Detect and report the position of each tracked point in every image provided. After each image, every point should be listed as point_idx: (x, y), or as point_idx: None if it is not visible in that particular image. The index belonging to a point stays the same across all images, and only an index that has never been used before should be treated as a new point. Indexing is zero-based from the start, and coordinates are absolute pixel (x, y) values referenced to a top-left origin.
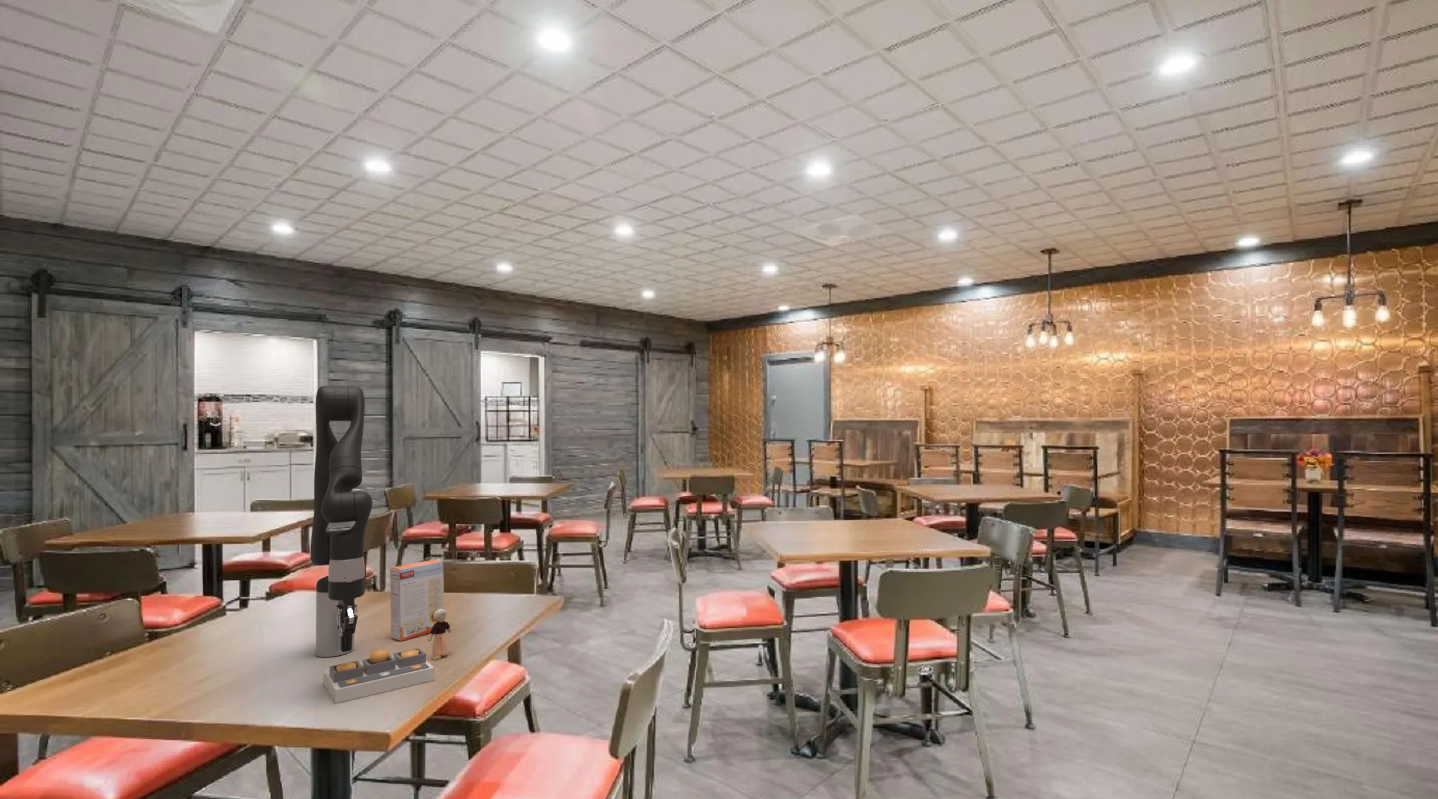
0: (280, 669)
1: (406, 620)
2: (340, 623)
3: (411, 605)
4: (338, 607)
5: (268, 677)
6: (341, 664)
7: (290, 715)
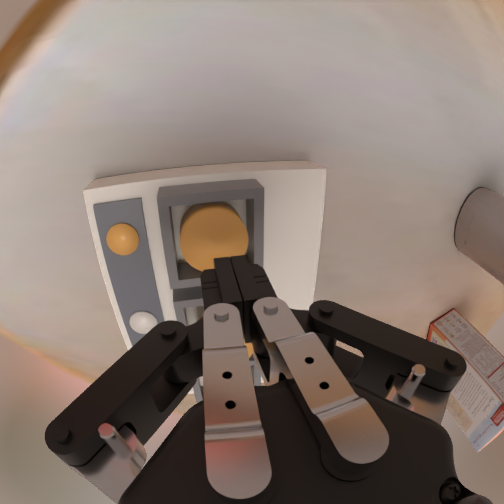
0: (465, 110)
1: None
2: (205, 372)
3: (462, 377)
4: (333, 461)
5: (439, 74)
6: (244, 228)
7: (80, 66)
